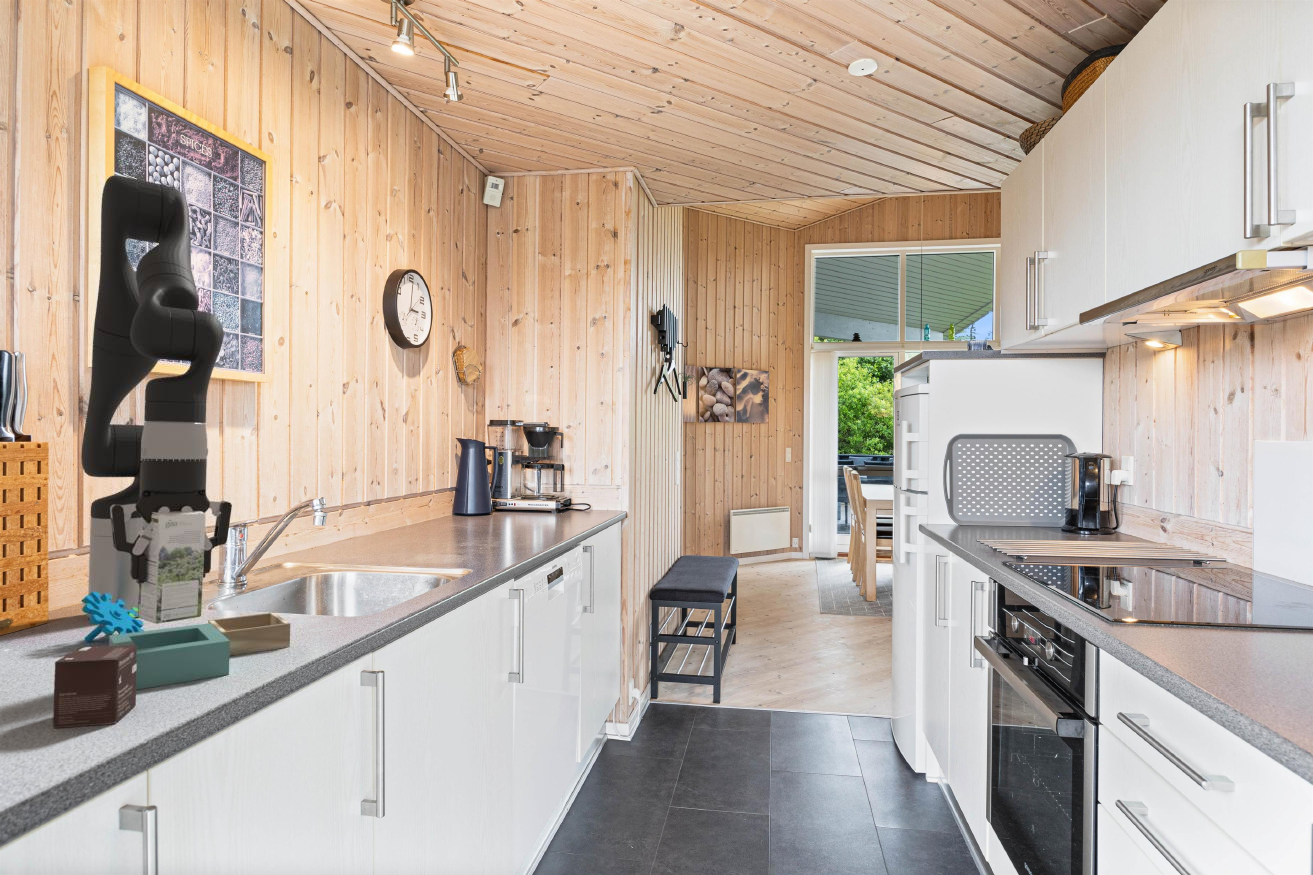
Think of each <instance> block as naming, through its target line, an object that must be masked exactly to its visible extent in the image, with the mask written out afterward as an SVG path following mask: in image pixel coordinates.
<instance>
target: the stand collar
mask: <svg viewBox="0 0 1313 875" xmlns="http://www.w3.org/2000/svg"><path fill="white" fill-rule="evenodd" d="M207 623H211V624H212V625H213V626H214V627H215V628H216V629H218V630H219V631H220V632H221V633H222V634H223V635H224V636H225V637H226V638H227V639H229V640H230V656H229V657H231V656H236V655H243V654H244V655H245V654H250V653H255V652H257V653H258V652H262V651H263V652H264V651H268V650H269V651H270V650H276V649H282V648H289V647H291V623H290V622H288V621H287V620H286V619H284V618H282V617H281V616H280V615H278V614H276V613H275V612H266V613H265V612H264V613H259V614H258V613H257V614H249V615H240V616H233V617H225V618H223V617H222V618H215V619H214V618H213V619H209V620H208V621H207Z"/></svg>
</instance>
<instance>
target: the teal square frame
mask: <svg viewBox="0 0 1313 875" xmlns="http://www.w3.org/2000/svg"><path fill="white" fill-rule="evenodd" d="M108 636H109V637H108V646H121V645H137V653H136V655H137V658H136V659H137V664H136V691H137V690H142V689H147V688H148V689H150V688H155V687H161V686H167V685H172V684H178V683H179V684H180V683H184V682H185V683H186V682H191V681H197V680H203V679H209V678H216V677H221V676H227V675H230V657H231V656H230V640H229V639H227V638H226V637H225V636H224V635H223V634H222V633H221V632H220V631H219V630H218V629H216V628H215V627H214V626H213V625H212V624H211V623H208V622H207V623H201V624H200V623H199V624H192V625H185V626H176V627H168V628H161V629H160V628H159V629H151V630H144V631H142V632H134V633H126V634H119V633H118V634H110V635H108Z"/></svg>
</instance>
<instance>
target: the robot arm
mask: <svg viewBox="0 0 1313 875" xmlns="http://www.w3.org/2000/svg"><path fill="white" fill-rule="evenodd" d="M103 185H104V186H103V189H102V195H101V205H100V206H101V209H100V211H101V213H100V263H99V264H100V269H99V270H100V271H99V280H98V292H97V299H96V308H95V314H94V315H95V317H94V324H93V334H92V335H93V336H92V349H91V350H92V352H91V355H92V356H91V377H90V378H91V380H90V390H89V398H88V405H87V412H86V418H85V425H84V430H83V437H82V443H81V453H80V454H81V455H80V456H81V457H80V458H81V465H82V469H83V471H84V473H85V474H86V475H88V476H89V477H93V478H133V481H132V483H131V484H130V485H129V486H128V487H126V488H124V489H122V490H120V491H119V492H116V493H113V494H110V495H106V496H103V497H100V498H98V499H95V500H94V501H93V502H91V505H90V522H89V523H90V526H89V529H90V530H89V555H88V556H89V560H88V562H89V563H88V587H87V588H88V590H87V591H88V592H87V594H88V595H89V594H90V593H91V592H92V591H95V592H98V593H99V594H100V595H101V596H102V595H103V594H104V593H108V594H110V595H111V596H112V599H110V600H109V601H110V602H111V603H115V602H116V601H117V600H119V599H121V600H122V601H123V602H124V603H125V604H126V605H125V606H124V607H122V608H123V609H126V610H130V609H131V608H132V607H136V608H137V609H138V598H139V584H140V583H144V581H145V555H144V554H143V551H144V550H145V548H146V546H147V545H148V543H149V542H150V540H152V537H153V531H151V529H153V519H152V520H151V516H152V514H153V513H152V512H157V513H169V512H173V511H181V512H182V513H190V512H193V511H201V512H203V513H204V514H206V512H207V511H208V510H209V509H210V510H211V514H212V515H213V517H216V518H215V523H214V524H215V525H214V526H215V527H214V531H213V532H214V533H213V536H212V537H208V534H206V532H205V541H204V563H203V579H204V578H206V574H210V572H211V570H212V550H213V549H214V548H217V547H219V546H221V545H222V546H223V545H225V544H226V543H227V541H228V535H229V529H230V522H231V517H232V509H233V508H232V507H233V505H232V503H231V502H230V501H228V500H221V501H214V500H213V501H212V500H210V499H209V498H208V497H207V466H208V462H207V461H208V455H209V448H208V433H207V427H206V425H207V424H206V422H207V398H208V396H207V395H208V389H209V384H210V381H211V376H212V374H213V371H214V368H215V364H216V361H217V359H218V357H219V354H220V352H221V349H222V346H223V343H224V336H225V334H224V328H223V325H222V323H221V321H220V320H219V318H218V317H217V316H216V315H214V314H213V313H211V312H208V311H204V310H199V307H200V298H199V294H198V289H197V286H196V282H195V277H194V275H193V271H192V242H191V240H192V239H191V222H190V211H189V206H188V200H187V199H186V196H185V195H184V193H183V192H181V190H179V189H177V188H176V187H172V186H170V185H165V184H161V183H156V182H151V181H146V180H141V179H137V178H132V177H128V176H122V175H111V176H109V177H108V178H107V179H106V181H105V183H104V184H103ZM129 239H130V240H134V241H139V242H140V241H141V242H147V243H152V244H154V243H155V244H157V245H155V246H153V247H152V248H151V249H149V250H148V251H147V252H146V253H145V254H144V255H143V256H142V257H141V259H140V260H139V261H138V264H137V267H136V271H135V269H134V268H133V265H132V264H131V261H130V258H129V256H128V255H129V254H128V251H127V246H126V243H127V240H129ZM159 360H167V361H169V360H170V361H179V362H180V361H182V362H190V365H189V368H188V369H187V370H186V371H185V372H184V373H182V374H180V375H174V376H165V377H155V378H153V379H151V380H149V381H148V382H147V383H146V386H145V391H144V420H143V421H144V422H143V424H120V423H119V424H118V423H117V424H114V423H113V424H111V422H112V420H113V417H114V415H115V413H116V411H117V409H118V407H119V406H120V405H121V403H122V402H123V401H124V399H125V398H126V397H127V396H128V395H129V394H130V393H131V392H132V391H133V390H134V389H135V388H136V387H137V386H138V385H139V384H140V383H141V382H142V381H143V380H144V379H145V378H146V377H147V376H148V375H149V374H150V373H151V372H152V371H153V369H154V368H155V367H156V366H157V363H158V362H159ZM142 518H143V519H144V520H145V521H146V522H147V523H148V524H149V525H148V526H147V528H146V529H145V530H144V528H143V527H142V528H141V520H142ZM101 596H100V597H101ZM100 599H101V598H100ZM91 616H92V615H91V614H88V613H87V618H88V619H89V618H90V617H91ZM137 617H138V612H137V615H136V616H135V617H134V618H137ZM138 618H139V617H138Z"/></svg>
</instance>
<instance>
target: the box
mask: <svg viewBox="0 0 1313 875" xmlns="http://www.w3.org/2000/svg"><path fill="white" fill-rule="evenodd" d="M136 653H137V645H121V646H109V645H108V646H107V645H106V646H104V645H103V646H87V647H86V646H85V647H80V648H77V649H76V650H74V651H71V652H69V653H66V654H65V655H64V656H63V657H62V658H60V659H58V660H56V661H55V662H54V675H53V676H54V682H53V683H54V684H53V685H54V687H53V688H54V690H53V713H52V714H53V715H52V716H53V718H52V719H53V720H52V721H53V722H52V728H55V729H59V728H73V727H84V726H86V727H87V726H98V725H99V726H100V725H111V724H116V723H119V721H120V720H122V719H123V718H124V717H125V716H127V715H128V714H129V713H130V712H131V711H132V710H133V709H134V708H135V707H136V705H137V690H136V664H137V659H136V658H137V655H136Z"/></svg>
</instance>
